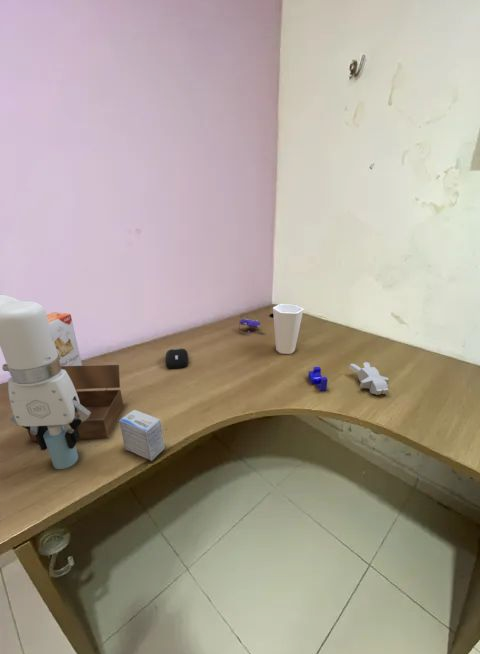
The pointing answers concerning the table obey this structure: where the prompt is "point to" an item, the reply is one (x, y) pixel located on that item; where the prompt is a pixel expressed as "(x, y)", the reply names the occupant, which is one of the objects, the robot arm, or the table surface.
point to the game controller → (249, 323)
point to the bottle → (59, 447)
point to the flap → (94, 376)
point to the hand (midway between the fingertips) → (60, 443)
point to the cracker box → (64, 339)
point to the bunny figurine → (371, 379)
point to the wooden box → (97, 413)
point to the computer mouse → (176, 358)
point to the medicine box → (142, 434)
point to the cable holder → (318, 378)
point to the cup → (286, 326)
